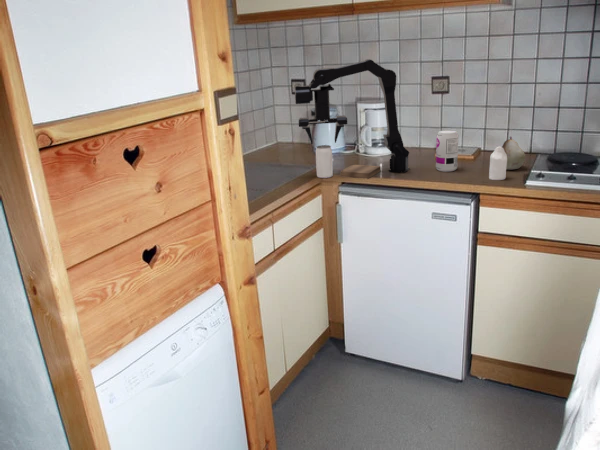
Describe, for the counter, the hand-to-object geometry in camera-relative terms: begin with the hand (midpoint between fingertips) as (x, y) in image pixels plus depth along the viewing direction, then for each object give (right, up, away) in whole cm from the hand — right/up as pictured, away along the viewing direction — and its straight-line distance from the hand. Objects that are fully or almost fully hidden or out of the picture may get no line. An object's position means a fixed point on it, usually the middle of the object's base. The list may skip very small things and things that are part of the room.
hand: (323, 143), depth 214 cm
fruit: (+73, -10, -2) cm, 74 cm away
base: (+15, -12, +4) cm, 19 cm away
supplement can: (+49, -10, +3) cm, 50 cm away
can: (+1, -13, +4) cm, 13 cm away
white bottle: (+63, -15, -14) cm, 66 cm away
